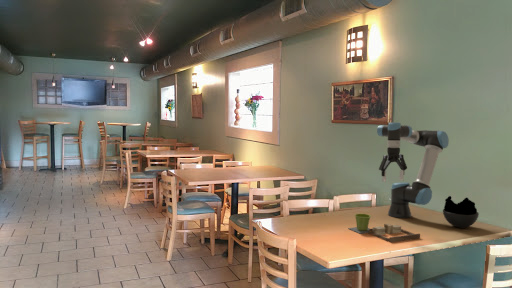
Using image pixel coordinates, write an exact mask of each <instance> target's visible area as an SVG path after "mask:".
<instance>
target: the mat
mask: <svg viewBox="0 0 512 288" xmlns="http://www.w3.org/2000/svg"><path fill="white" fill-rule="evenodd" d="M348 229H349V230H350V231H352V232H354V233H357V234H359V235H361V234H369V233H368V230H369V229H371V228H369V227H368V230H366V231H364V230H363V231H361V230H358V229H357V226H354V227H348Z"/></svg>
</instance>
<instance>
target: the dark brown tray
mask: <svg viewBox="0 0 512 288" xmlns="http://www.w3.org/2000/svg"><path fill="white" fill-rule="evenodd" d="M401 233H403V234H404V235H397V236H390V237H387V236H384V235H380V234H377V233H375V232H373V228H370V229H369V230H368V233H367V234H369V235H372V236H374V237H376V238H379V239H381V240H384V241H385V242H388V241H389V243H396V242H403V241H411V240H418V239H421V234H420V233H413V232H410V231H408V230H405V229H402V228H401Z"/></svg>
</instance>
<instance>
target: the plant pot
mask: <svg viewBox="0 0 512 288" xmlns="http://www.w3.org/2000/svg"><path fill="white" fill-rule="evenodd" d="M354 217H355V222H356V227H357V229H358V230H361V231H363V230H364V231H366V230H368V228H369V223H370V219H371V217H372V216H371V215H370V214H366V213H355V214H354Z"/></svg>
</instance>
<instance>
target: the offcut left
mask: <svg viewBox="0 0 512 288" xmlns="http://www.w3.org/2000/svg"><path fill="white" fill-rule="evenodd" d="M372 229H373V232H375V233H377V234H380V235H382V236H384V235H386V233H385V228H384V226H382V225H381V226H373V227H372Z"/></svg>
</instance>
